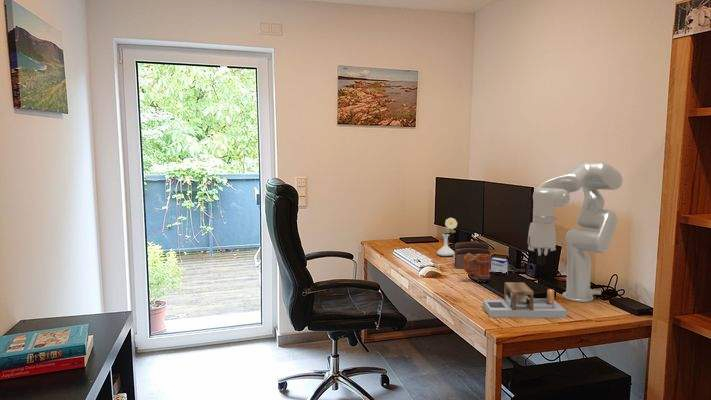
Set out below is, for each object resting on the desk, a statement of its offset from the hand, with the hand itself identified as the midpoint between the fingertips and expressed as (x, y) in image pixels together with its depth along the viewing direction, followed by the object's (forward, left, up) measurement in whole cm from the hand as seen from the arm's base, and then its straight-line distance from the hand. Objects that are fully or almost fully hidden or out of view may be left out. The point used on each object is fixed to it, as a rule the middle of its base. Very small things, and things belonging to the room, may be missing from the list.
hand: (541, 264), depth 183 cm
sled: (+4, 0, -17) cm, 17 cm away
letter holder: (+13, -75, -21) cm, 79 cm away
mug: (+17, -44, -21) cm, 52 cm away
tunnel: (+9, 0, -17) cm, 19 cm away
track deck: (+7, 0, -20) cm, 21 cm away
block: (+9, 0, -17) cm, 19 cm away
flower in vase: (+24, -104, -21) cm, 109 cm away
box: (+2, -59, -21) cm, 63 cm away
